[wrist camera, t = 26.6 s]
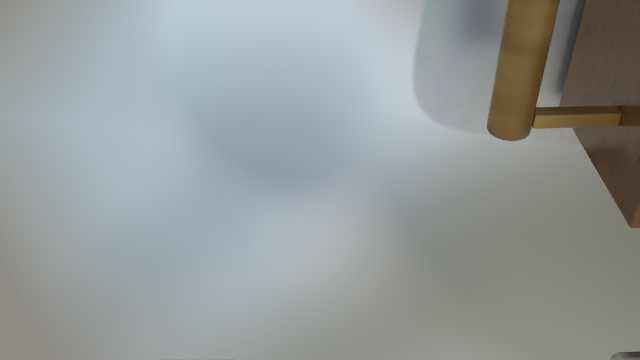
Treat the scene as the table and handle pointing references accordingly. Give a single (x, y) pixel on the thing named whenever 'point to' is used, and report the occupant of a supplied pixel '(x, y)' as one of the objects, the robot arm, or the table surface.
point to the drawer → (577, 88)
